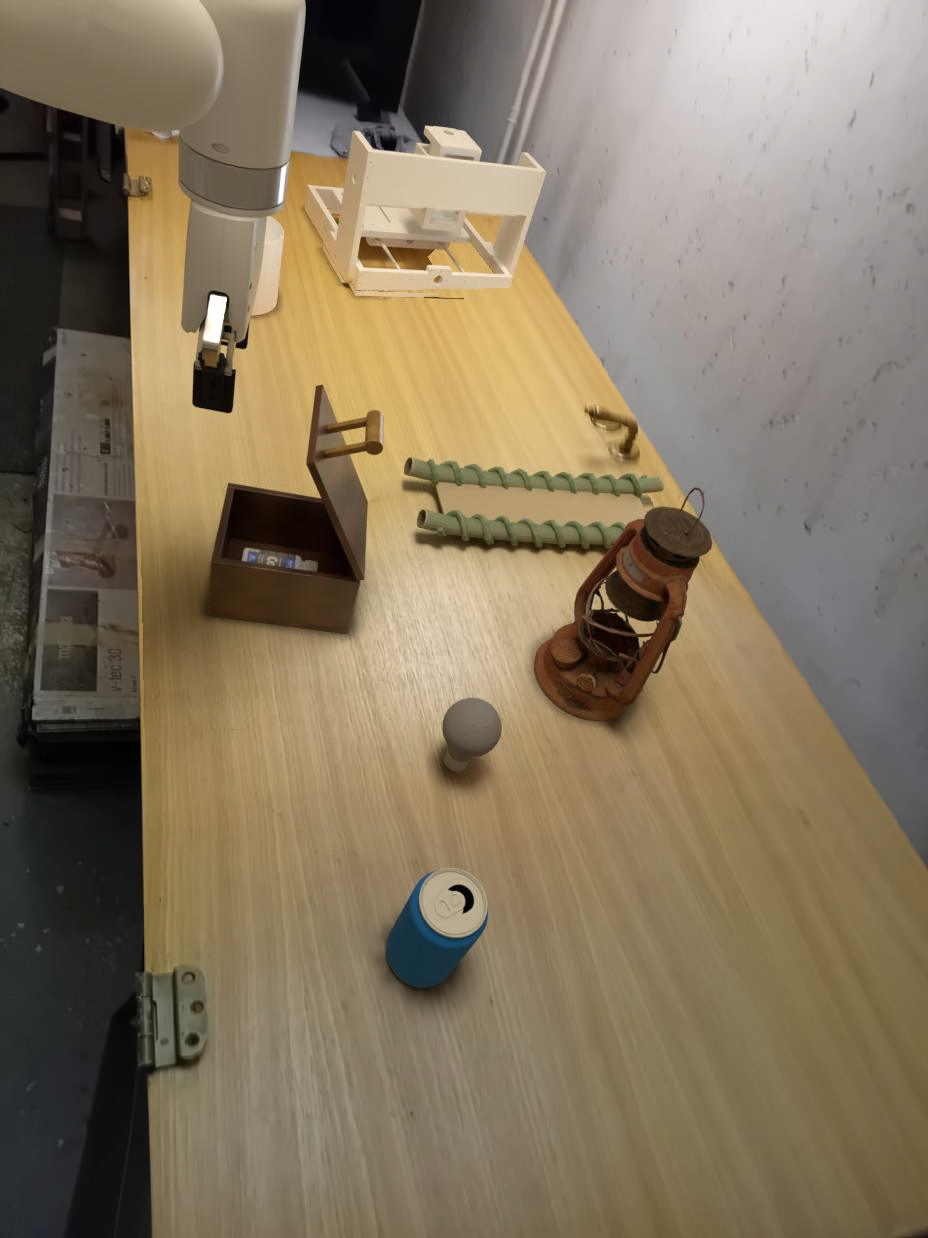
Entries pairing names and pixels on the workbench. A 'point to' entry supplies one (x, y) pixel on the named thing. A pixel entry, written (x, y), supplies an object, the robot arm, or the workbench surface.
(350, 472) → the lid
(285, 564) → the pill bottle
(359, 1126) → the workbench surface
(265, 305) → the cup
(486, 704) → the light bulb
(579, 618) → the lantern
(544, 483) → the stretcher
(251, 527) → the chest
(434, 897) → the beverage can
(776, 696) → the workbench surface
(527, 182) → the 3d printer
